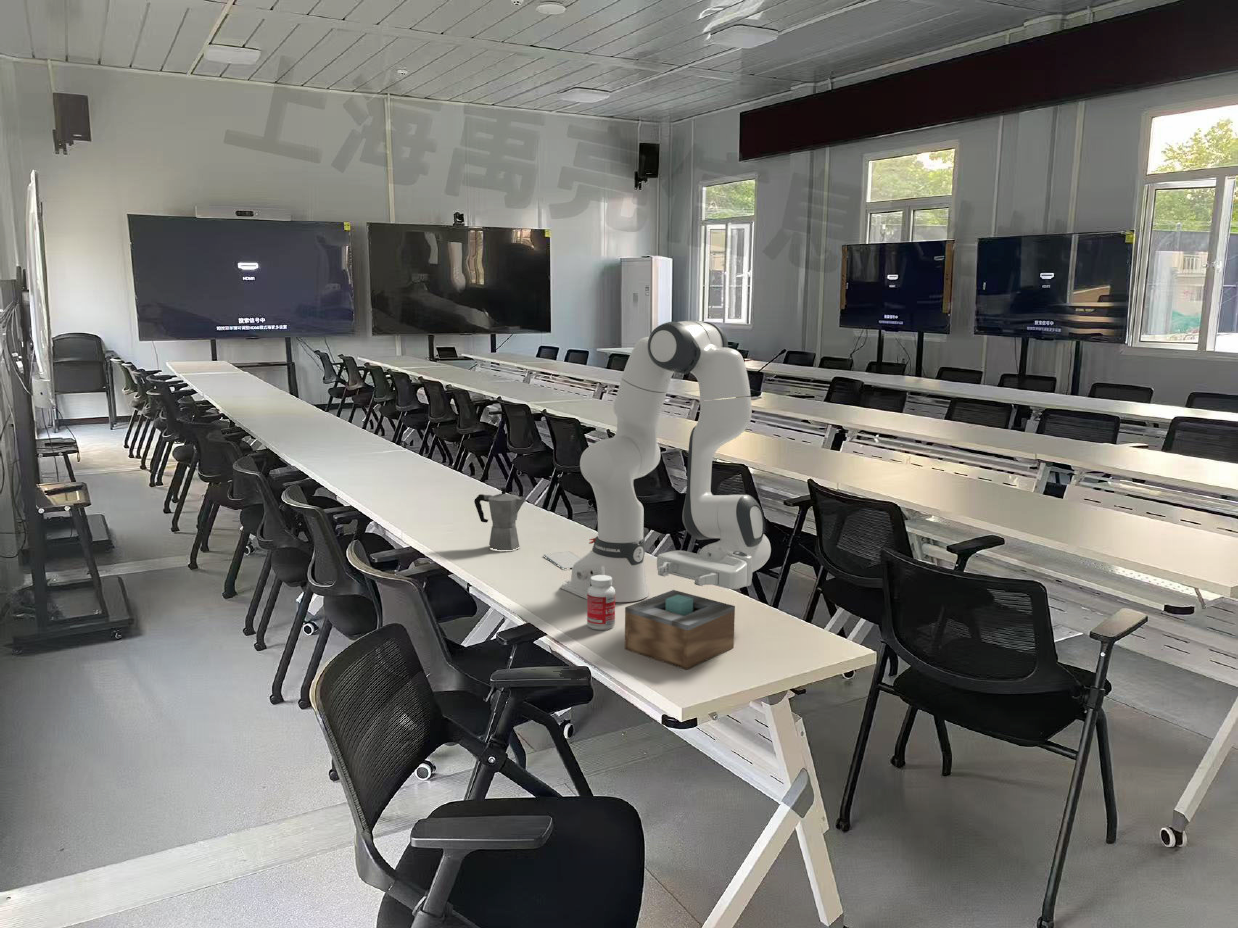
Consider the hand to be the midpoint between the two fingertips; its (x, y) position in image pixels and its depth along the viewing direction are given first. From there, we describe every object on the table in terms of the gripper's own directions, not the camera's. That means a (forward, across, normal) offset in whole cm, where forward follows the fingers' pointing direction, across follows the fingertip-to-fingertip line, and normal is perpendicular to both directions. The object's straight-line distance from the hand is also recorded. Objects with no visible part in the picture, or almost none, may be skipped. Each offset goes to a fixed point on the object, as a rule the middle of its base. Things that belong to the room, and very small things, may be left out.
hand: (678, 576), depth 186 cm
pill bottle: (0, -21, +16) cm, 26 cm away
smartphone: (-32, -63, +16) cm, 72 cm away
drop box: (-1, 0, +16) cm, 16 cm away
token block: (-1, 0, +15) cm, 15 cm away
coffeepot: (-29, -87, +16) cm, 93 cm away
